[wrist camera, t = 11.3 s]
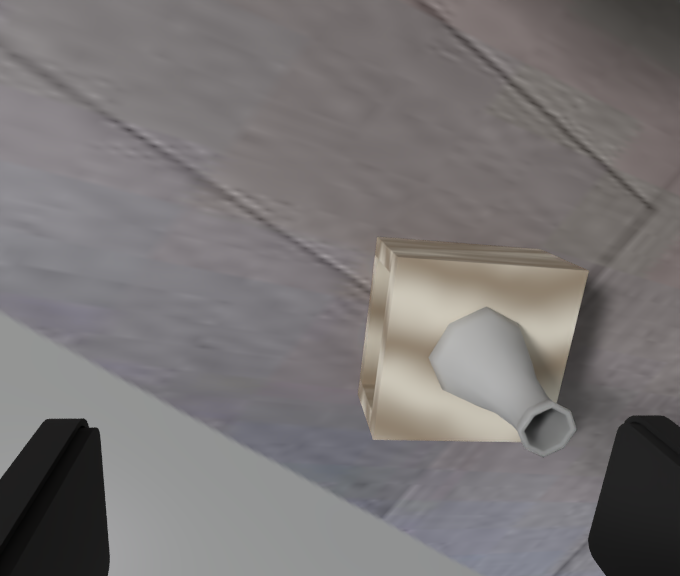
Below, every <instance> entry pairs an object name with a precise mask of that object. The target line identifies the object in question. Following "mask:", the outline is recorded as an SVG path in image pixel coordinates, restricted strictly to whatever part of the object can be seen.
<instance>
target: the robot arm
mask: <svg viewBox="0 0 680 576" xmlns="http://www.w3.org/2000/svg"><path fill="white" fill-rule="evenodd" d="M105 505H106V503H105V491H104V479H103V465H102V453H101V441H100V432H99V429H98V428H89V426H88V423H87V421H86V420H85V419H47V420H45V421H44V422H43V423H42V424H41V426H40V427H39V428H38V430H37V431H36V433H35V434H34V435H33V436H32V438H31V439H30V440H29V442H28V443H27V444H26V446H25V447H24V448H23V450H22V451H21V452H20V454H19V455H18V456H17V458H16V459H15V460H14V462H13V463H12V464H11V466H10V467H9V468H8V470H7V471H6V472H5V474H4V475H3V476H2V478H1V479H0V576H108V571H109V563H110V555H109V541H108V530H107V516H106V506H105ZM588 543H589V549H590V552H591V555H592V557H593V558H594V560H595V561H596V563H597V564H598V565H599V567H600V568H601V570H602V571H603V572H604V574H605V575H606V576H680V427H679V426H678V425H676V424H675V423H674V422H672V421H671V420H670V419H668V418H666V417H664V416H631V417H629V418H628V419H627V420H626V421H625V423H624V424H622V425H621V426H620V427H619V428H618V430H617V434H616V437H615V441H614V445H613V448H612V452H611V456H610V459H609V463H608V467H607V471H606V474H605V478H604V482H603V485H602V489H601V493H600V496H599V500H598V504H597V507H596V511H595V515H594V519H593V522H592V526H591V530H590V533H589V538H588Z"/></svg>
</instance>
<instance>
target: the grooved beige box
mask: <svg viewBox="0 0 680 576" xmlns="http://www.w3.org/2000/svg"><path fill="white" fill-rule="evenodd" d="M588 272H589V271H588V270H586V269H584V268H581V267H579V266H577V265H575V264H572V263H570V262H568V261H565V260H563V259H561V258H559V257H556V256H554V255H552V254H550V253H547V252H545V251H543V250H540V249H530V248H517V247H504V246H491V245H478V244H465V243H452V242H439V241H426V240H413V239H400V238H387V237H377V244H376V252H375V260H374V269H373V277H372V285H371V293H370V301H369V309H368V317H367V325H366V334H365V342H364V350H363V358H362V366H361V374H360V382H359V390H358V396H359V399H360V402H361V405H362V408H363V411H364V414H365V417H366V420H367V423H368V426H369V429H370V432H371V435H372V438H373V440H425V441H487V442H521V439H520V437H519V434H518V432H517V430H516V429H515V428H514V427H513V426H512V425H511V424H509V423H508V422H507V421H505V420H504V419H503V418H501V417H500V416H499V415H497V414H496V413H494V412H492V411H489V410H486V409H484V408H481V407H479V406H476V405H474V404H472V403H470V402H468V401H466V400H464V399H461V398H459V397H457V396H455V395H453V394H451V393H449V392H446V391H444V390H442V388H441V386H440V383H439V381H438V379H437V376H436V374H435V372H434V369H433V367H432V365H431V363H430V360H429V358H428V357H429V356H430V354H431V352H432V351H433V349H434V348H435V346H436V344H437V343H438V341H439V340H440V338H441V336H442V335H443V333H444V332H445V330H446V328H447V327H448V325H449V324H450V323H452V322H454V321H456V320H458V319H461V318H463V317H465V316H467V315H469V314H471V313H473V312H476V311H478V310H480V309H482V308H484V307H488V308H490V309H492V310H494V311H496V312H498V313H500V314H502V315H503V316H505V317H507V318H509V319H511V320H513V321H515V322H517V323H518V324H519V327H520V330H521V333H522V335H523V338H524V341H525V344H526V347H527V349H528V352H529V355H530V358H531V361H532V364H533V368H534V371H535V375H536V378H537V380H538V381H539V383H540V385H541V386H542V388H543V389H544V391H545V393H546V394H547V396H548V397H549V398H550V399H551V400H552V401H553V402H555V403H557V400H558V395H559V391H560V387H561V383H562V379H563V375H564V371H565V367H566V362H567V358H568V354H569V350H570V346H571V342H572V338H573V334H574V330H575V325H576V321H577V317H578V313H579V309H580V305H581V301H582V297H583V293H584V288H585V284H586V280H587V276H588Z"/></svg>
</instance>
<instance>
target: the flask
mask: <svg viewBox="0 0 680 576" xmlns="http://www.w3.org/2000/svg"><path fill="white" fill-rule="evenodd" d="M428 358H429V360H430V363H431V365H432V367H433V369H434V372H435V374H436V376H437V379H438V381H439V383H440V386H441V388H442V390H444V391H446V392H449V393H451V394H453V395H455V396H457V397H459V398H461V399H464V400H466V401H468V402H470V403H472V404H474V405H476V406H479V407H481V408H484V409H486V410H489V411H492V412H494V413H496V414H497V415H499V416H500V417H501V418H503V419H504V420H505V421H507V422H508V423H509V424H511V425H512V426H513V427H514V428H515V429H516V430H517V432H518V434H519V437H520V439H521V442H522V444H523V447H524V448H525V449H526V450H528V451H530V452H532V453H535V454H537V455H539V456H541V457H546V456H548V455H550V454H552V453H554V452H556V451H558V450H561V449H563V448H564V447H565V446H566V445H567V443H568V442H569V440H570V439H571V437H572V436H573V435H574V433H575V432H576V430H577V428H576V425H575V422H574V419H573V416H572V413H571V411H570V410H569V409H567V408H565V407H563V406H561V405H559V404H557V403H555V402H553V401H552V400H551V399H550V398H549V397H548V396H547V394H546V393H545V391H544V389H543V388H542V386H541V385H540V383H539V381H538V380H537V378H536V375H535V371H534V368H533V364H532V361H531V358H530V355H529V352H528V349H527V347H526V344H525V341H524V338H523V335H522V333H521V330H520V327H519V324H518V323H517V322H515V321H513V320H511V319H509V318H507V317H505V316H503V315H502V314H500V313H498V312H496V311H494V310H492V309H490V308H488V307H484V308H482V309H480V310H478V311H476V312H473V313H471V314H469V315H467V316H465V317H463V318H461V319H458V320H456V321H454V322H452V323H450V324H449V325H448V327H447V328H446V330H445V332H444V333H443V335H442V336H441V338H440V340H439V341H438V343H437V344H436V346H435V348H434V349H433V351H432V352H431V354H430V356H429V357H428Z"/></svg>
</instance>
